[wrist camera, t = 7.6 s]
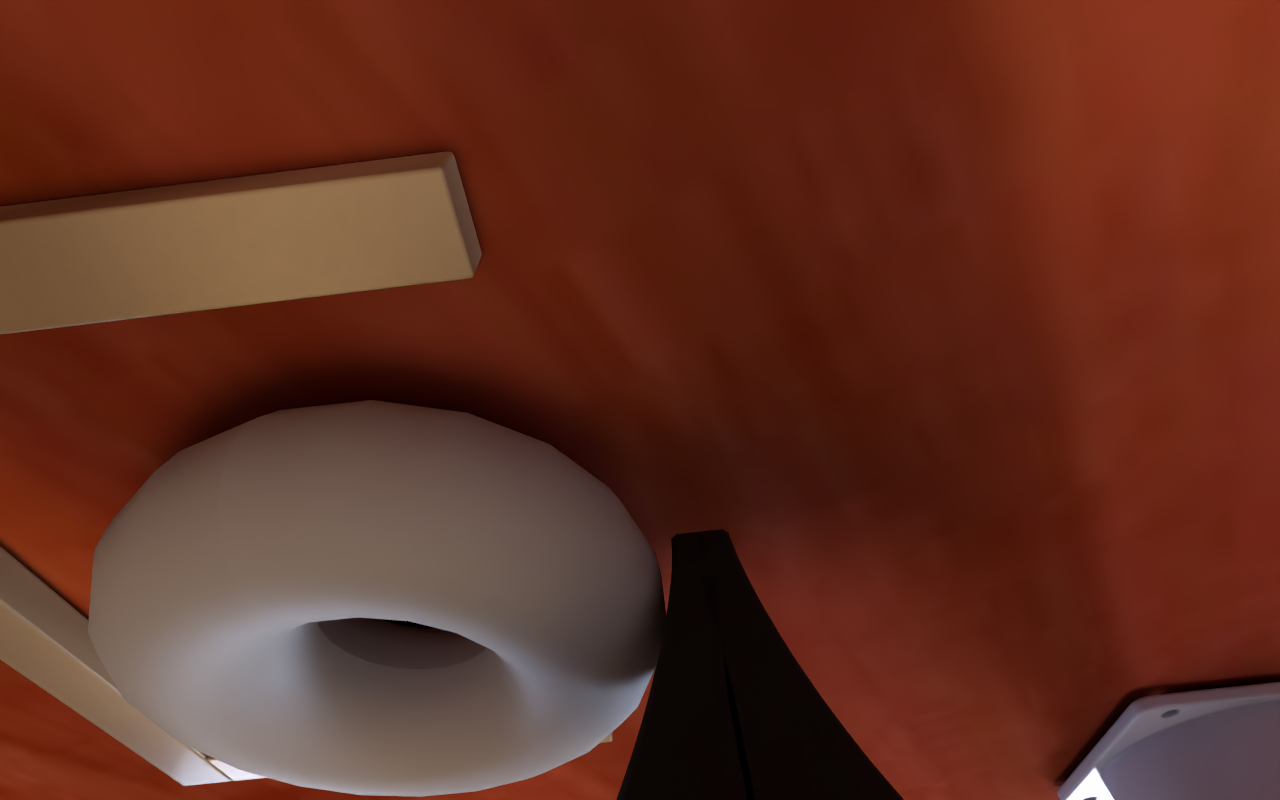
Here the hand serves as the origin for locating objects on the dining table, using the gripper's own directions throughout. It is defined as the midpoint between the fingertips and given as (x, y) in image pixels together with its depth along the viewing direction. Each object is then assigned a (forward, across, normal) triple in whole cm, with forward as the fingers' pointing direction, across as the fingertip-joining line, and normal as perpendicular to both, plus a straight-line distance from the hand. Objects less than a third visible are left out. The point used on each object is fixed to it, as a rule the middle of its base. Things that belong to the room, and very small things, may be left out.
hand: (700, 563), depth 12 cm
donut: (+1, +6, 0) cm, 6 cm away
